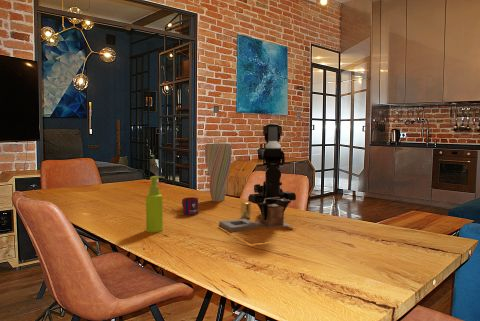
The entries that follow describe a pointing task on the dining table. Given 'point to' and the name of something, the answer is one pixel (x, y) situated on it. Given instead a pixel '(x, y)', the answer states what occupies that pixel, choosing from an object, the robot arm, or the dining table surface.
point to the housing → (274, 215)
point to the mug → (190, 206)
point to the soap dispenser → (154, 208)
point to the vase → (218, 168)
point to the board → (271, 226)
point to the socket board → (238, 225)
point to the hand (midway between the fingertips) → (272, 219)
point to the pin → (245, 210)
